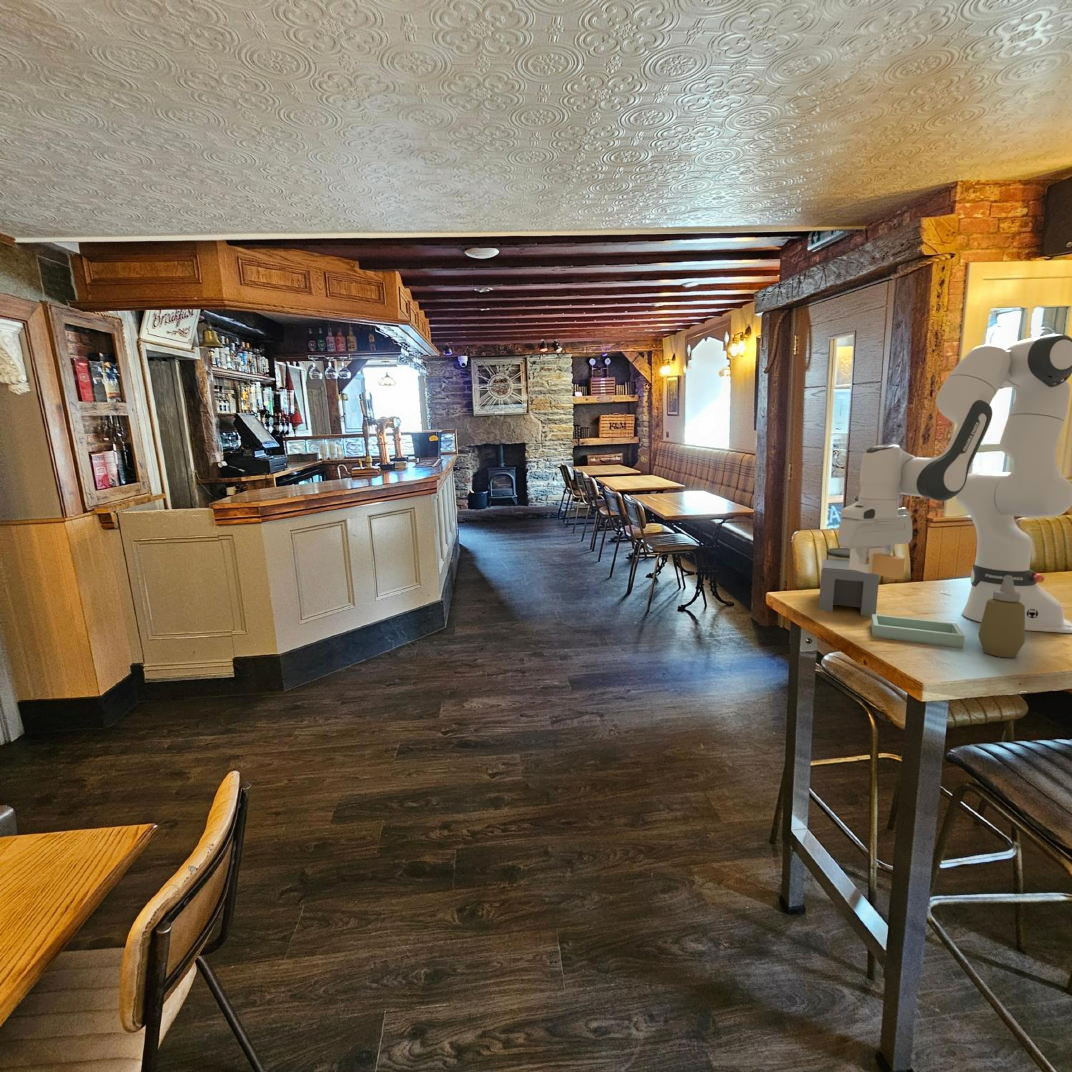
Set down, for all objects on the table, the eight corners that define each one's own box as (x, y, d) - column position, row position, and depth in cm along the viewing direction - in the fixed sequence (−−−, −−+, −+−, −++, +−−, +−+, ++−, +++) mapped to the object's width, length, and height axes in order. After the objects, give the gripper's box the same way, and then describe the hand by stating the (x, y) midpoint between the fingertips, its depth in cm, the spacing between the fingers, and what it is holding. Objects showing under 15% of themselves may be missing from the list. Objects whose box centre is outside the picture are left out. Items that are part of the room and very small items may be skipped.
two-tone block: (864, 566, 151) (866, 543, 150) (907, 577, 139) (909, 551, 138) (849, 568, 150) (850, 544, 149) (891, 579, 137) (893, 553, 136)
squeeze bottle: (1022, 663, 122) (1033, 582, 119) (975, 654, 127) (984, 576, 124) (1022, 652, 128) (1033, 575, 125) (977, 644, 133) (986, 570, 130)
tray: (955, 635, 139) (956, 623, 139) (963, 648, 131) (964, 635, 130) (870, 625, 148) (871, 613, 147) (872, 636, 139) (873, 625, 138)
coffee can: (818, 590, 181) (821, 547, 179) (852, 591, 180) (855, 547, 178) (831, 599, 171) (834, 554, 169) (867, 600, 170) (871, 554, 168)
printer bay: (873, 604, 166) (876, 563, 164) (875, 616, 154) (879, 572, 152) (819, 598, 172) (822, 559, 170) (818, 610, 161) (821, 568, 159)
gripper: (899, 505, 148) (895, 557, 151) (835, 510, 143) (831, 563, 145) (921, 508, 142) (916, 561, 145) (855, 513, 137) (851, 569, 139)
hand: (873, 562), depth 145 cm, fingers closed on two-tone block, 5 cm apart
